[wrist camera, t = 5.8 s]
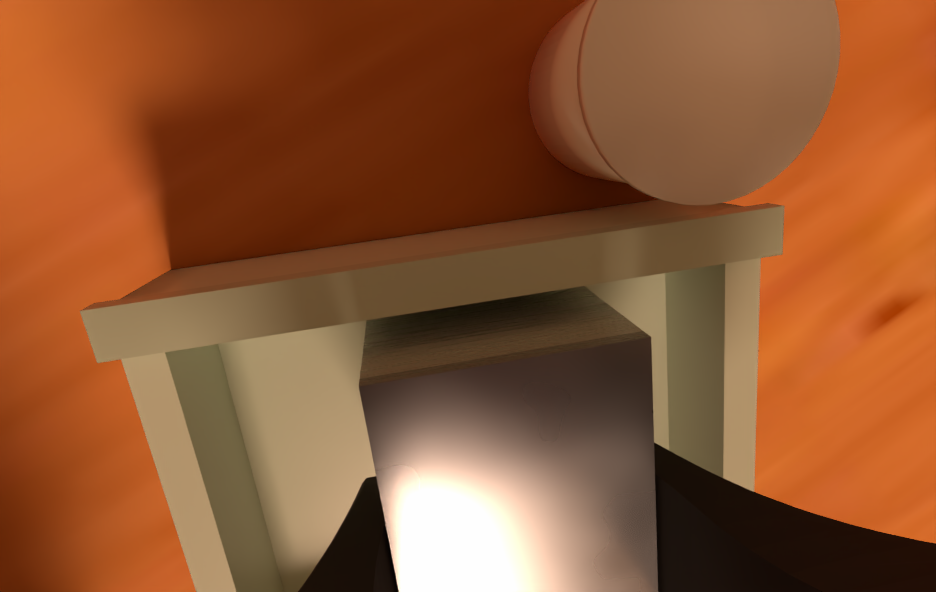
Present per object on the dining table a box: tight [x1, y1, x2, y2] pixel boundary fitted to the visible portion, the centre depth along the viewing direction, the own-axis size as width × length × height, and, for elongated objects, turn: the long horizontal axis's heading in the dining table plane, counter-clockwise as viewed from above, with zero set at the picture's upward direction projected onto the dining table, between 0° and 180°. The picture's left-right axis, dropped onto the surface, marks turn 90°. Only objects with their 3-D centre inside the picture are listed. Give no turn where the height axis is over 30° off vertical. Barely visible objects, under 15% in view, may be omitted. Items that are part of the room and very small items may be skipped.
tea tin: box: [359, 286, 658, 592], centre depth 12 cm, size 5×8×5 cm, turn 7°
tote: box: [80, 199, 784, 592], centre depth 14 cm, size 13×12×4 cm
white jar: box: [528, 0, 840, 205], centre depth 11 cm, size 5×5×4 cm
